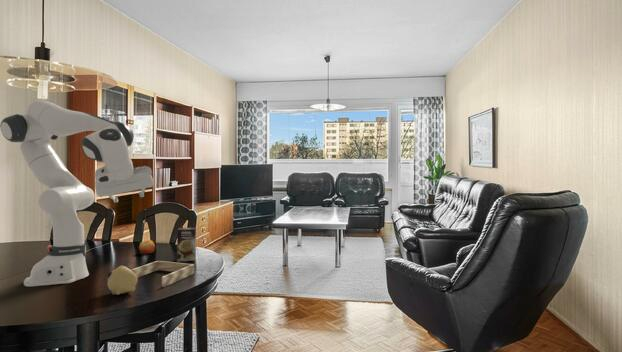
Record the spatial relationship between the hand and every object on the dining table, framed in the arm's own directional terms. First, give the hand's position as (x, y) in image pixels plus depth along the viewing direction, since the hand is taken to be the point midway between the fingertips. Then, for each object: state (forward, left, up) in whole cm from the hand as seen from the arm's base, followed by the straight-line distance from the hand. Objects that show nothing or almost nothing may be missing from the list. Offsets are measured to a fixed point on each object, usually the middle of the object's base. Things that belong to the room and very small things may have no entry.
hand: (129, 198), depth 146 cm
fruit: (+14, +54, -35) cm, 66 cm away
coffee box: (+29, +29, -35) cm, 54 cm away
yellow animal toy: (-4, -9, -35) cm, 36 cm away
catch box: (+12, +4, -35) cm, 37 cm away
